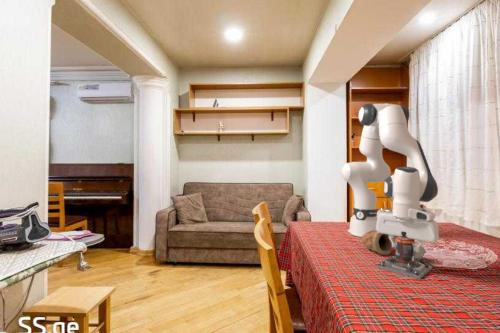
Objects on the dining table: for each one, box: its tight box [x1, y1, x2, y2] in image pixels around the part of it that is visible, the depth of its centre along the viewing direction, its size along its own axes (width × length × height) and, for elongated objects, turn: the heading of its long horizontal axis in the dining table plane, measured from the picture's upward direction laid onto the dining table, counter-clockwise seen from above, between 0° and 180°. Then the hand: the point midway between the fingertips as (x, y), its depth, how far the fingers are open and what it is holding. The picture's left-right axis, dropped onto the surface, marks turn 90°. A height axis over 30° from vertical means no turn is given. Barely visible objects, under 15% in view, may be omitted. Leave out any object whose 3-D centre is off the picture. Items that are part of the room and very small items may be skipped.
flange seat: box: [376, 245, 433, 280], centre depth 109 cm, size 24×14×5 cm, turn 134°
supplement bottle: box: [395, 231, 416, 264], centre depth 105 cm, size 6×6×11 cm
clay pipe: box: [360, 230, 396, 256], centre depth 128 cm, size 19×11×15 cm
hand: (405, 249), depth 105 cm, fingers closed on supplement bottle, 6 cm apart
